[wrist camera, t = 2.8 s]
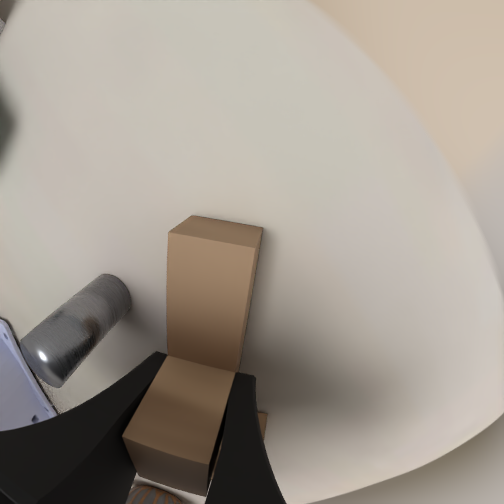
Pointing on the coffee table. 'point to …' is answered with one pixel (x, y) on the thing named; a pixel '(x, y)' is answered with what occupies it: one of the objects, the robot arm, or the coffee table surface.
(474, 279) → the coffee table surface
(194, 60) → the coffee table surface
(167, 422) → the link
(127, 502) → the vase
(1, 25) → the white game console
